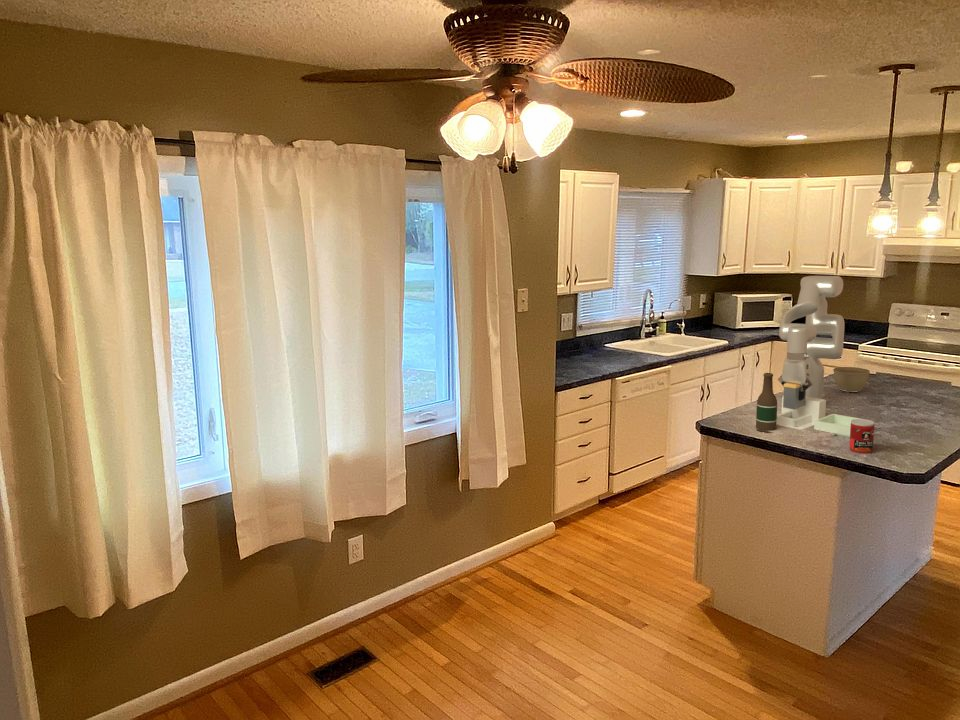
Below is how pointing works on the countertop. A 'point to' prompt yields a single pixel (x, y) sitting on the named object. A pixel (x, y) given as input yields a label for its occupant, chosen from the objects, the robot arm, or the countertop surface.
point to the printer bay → (802, 414)
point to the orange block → (792, 396)
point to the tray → (835, 425)
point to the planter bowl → (851, 378)
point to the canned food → (861, 436)
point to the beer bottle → (766, 406)
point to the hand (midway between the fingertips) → (794, 398)
